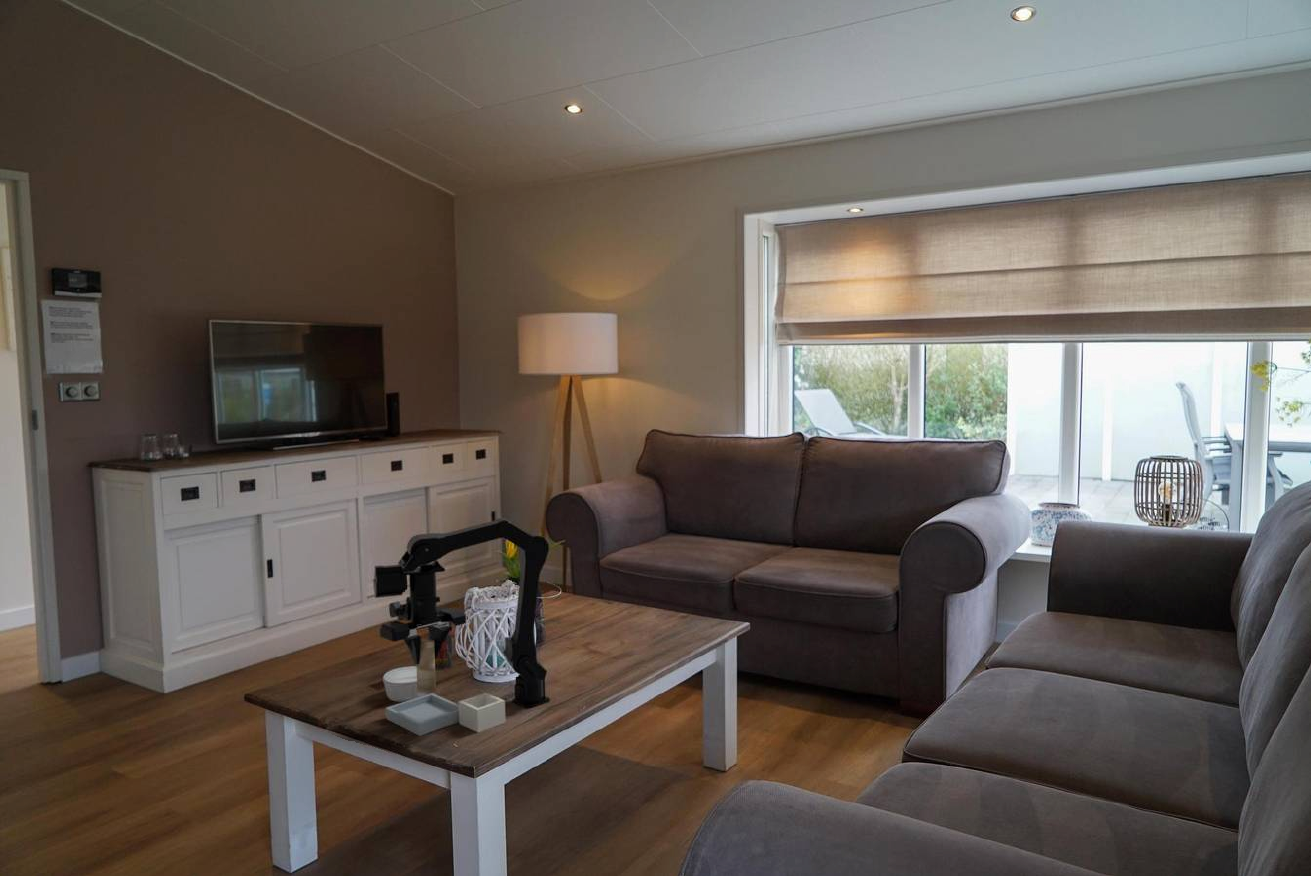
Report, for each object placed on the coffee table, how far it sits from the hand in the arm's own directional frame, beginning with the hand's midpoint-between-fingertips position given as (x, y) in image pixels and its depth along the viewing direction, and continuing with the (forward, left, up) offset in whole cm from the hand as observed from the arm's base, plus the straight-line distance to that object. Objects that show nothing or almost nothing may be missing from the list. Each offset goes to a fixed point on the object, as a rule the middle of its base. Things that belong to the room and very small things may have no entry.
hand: (425, 661), depth 199 cm
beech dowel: (0, 0, -7) cm, 7 cm away
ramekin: (-5, -17, -14) cm, 22 cm away
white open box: (-7, +11, -13) cm, 19 cm away
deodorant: (-22, -29, -14) cm, 39 cm away
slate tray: (0, 0, -13) cm, 13 cm away
